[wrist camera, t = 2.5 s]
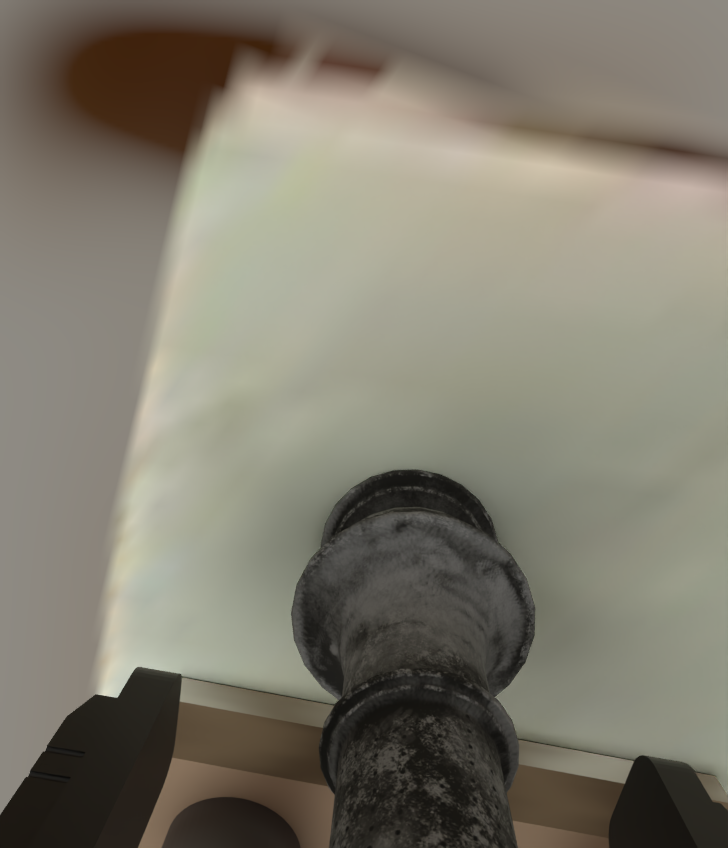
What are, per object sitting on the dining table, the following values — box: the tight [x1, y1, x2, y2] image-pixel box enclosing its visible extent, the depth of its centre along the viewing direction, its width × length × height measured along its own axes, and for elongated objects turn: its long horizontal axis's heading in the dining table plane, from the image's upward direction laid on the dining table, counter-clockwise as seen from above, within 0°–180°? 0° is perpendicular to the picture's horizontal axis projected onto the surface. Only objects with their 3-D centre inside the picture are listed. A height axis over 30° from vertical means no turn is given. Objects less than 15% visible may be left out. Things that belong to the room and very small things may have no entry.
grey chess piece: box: [291, 470, 535, 848], centre depth 12 cm, size 6×6×12 cm
